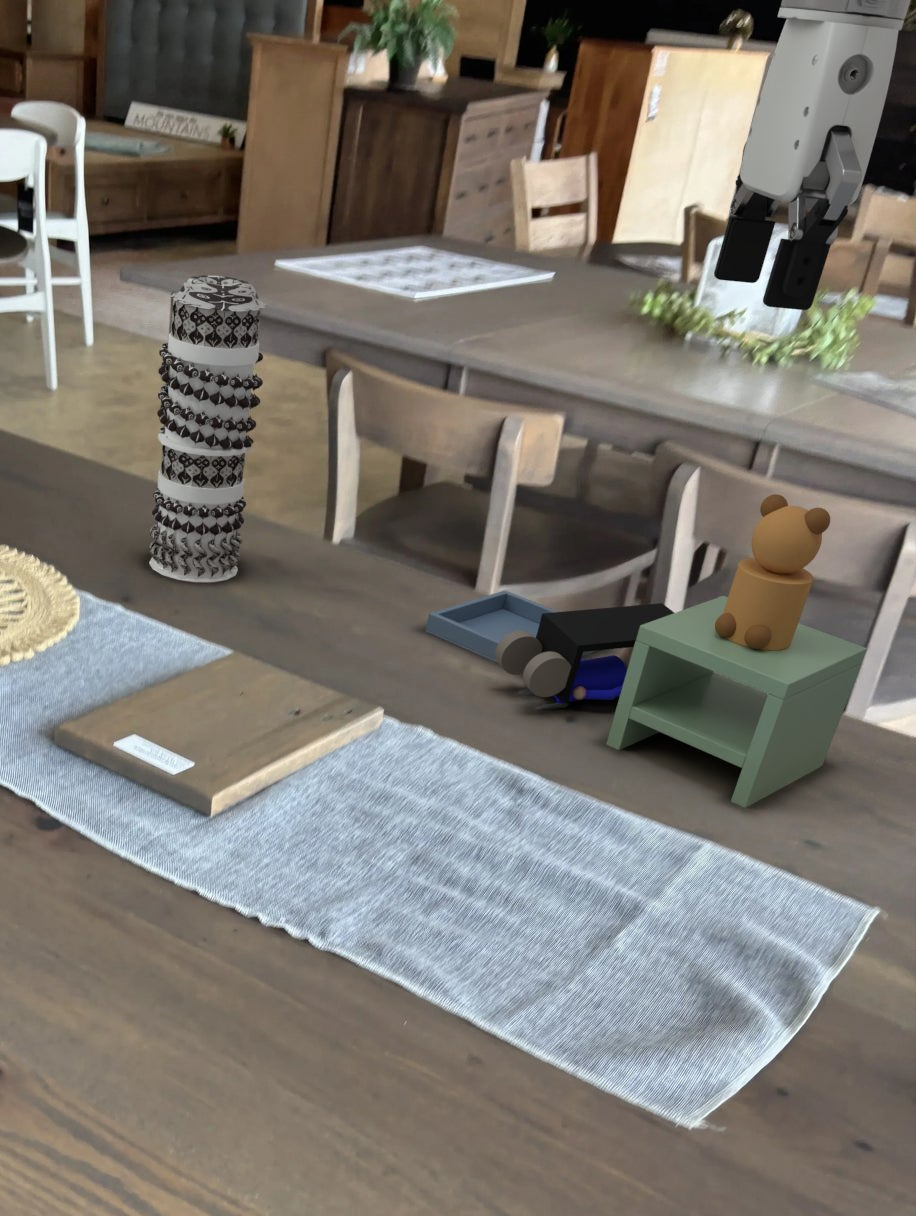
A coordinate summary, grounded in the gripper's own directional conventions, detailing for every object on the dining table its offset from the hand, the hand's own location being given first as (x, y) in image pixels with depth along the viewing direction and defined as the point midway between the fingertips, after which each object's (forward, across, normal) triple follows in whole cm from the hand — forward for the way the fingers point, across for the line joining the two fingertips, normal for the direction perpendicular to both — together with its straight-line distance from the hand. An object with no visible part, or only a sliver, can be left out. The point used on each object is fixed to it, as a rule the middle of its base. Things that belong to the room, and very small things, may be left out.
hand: (759, 293), depth 98 cm
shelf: (+31, -9, -3) cm, 33 cm away
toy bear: (+21, -9, -3) cm, 23 cm away
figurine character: (+32, 0, +4) cm, 32 cm away
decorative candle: (+32, +25, +36) cm, 54 cm away
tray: (+31, +12, +8) cm, 35 cm away
